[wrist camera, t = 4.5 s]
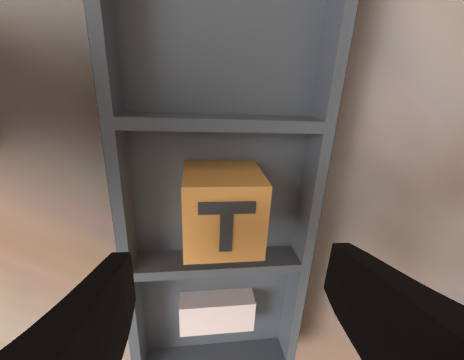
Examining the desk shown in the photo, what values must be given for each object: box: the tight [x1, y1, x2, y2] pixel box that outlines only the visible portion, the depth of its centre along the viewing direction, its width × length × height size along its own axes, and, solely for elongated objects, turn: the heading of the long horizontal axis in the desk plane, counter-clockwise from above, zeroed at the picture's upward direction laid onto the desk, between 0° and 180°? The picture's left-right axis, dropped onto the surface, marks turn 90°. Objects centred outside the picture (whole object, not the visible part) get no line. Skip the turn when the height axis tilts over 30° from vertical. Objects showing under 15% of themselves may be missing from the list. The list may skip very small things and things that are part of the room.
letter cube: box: [181, 160, 273, 265], centre depth 14 cm, size 4×4×4 cm
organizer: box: [83, 0, 359, 360], centre depth 15 cm, size 11×26×2 cm, turn 178°
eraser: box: [179, 288, 256, 337], centre depth 18 cm, size 5×2×2 cm, turn 88°
